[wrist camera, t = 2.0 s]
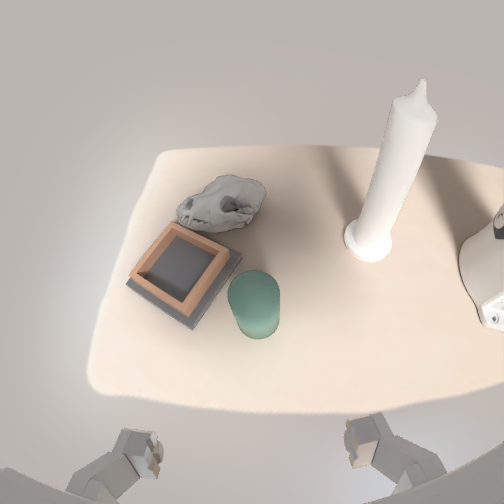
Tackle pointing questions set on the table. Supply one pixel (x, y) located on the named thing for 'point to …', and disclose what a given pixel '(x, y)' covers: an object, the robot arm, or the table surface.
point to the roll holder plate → (183, 273)
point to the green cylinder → (255, 303)
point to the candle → (392, 174)
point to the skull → (222, 205)
